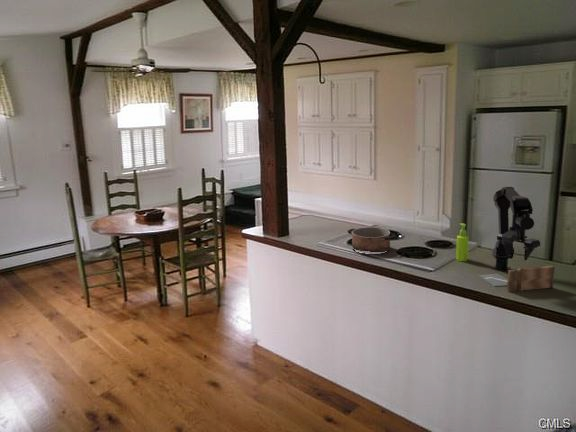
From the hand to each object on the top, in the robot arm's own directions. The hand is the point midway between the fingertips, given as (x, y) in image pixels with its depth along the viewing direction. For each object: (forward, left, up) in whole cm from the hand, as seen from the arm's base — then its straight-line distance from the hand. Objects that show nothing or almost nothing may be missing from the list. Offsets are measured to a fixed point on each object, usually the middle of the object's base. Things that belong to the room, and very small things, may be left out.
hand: (516, 257), depth 211 cm
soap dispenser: (-16, -35, -13) cm, 41 cm away
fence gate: (-1, +10, -13) cm, 16 cm away
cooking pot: (+2, -83, -13) cm, 84 cm away
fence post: (+8, +3, -13) cm, 16 cm away
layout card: (+1, -8, -13) cm, 15 cm away
